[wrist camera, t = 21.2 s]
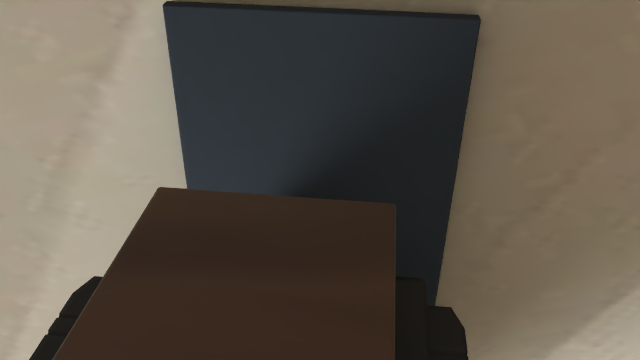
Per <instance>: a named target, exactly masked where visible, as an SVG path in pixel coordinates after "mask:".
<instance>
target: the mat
mask: <svg viewBox="0 0 640 360" xmlns="http://www.w3.org/2000/svg"><path fill="white" fill-rule="evenodd" d="M163 12H164V19H165V26H166V34H167V41H168V49H169V56H170V64H171V71H172V79H173V86H174V94H175V101H176V109H177V116H178V124H179V131H180V139H181V146H182V153H183V161H184V168H185V176H186V183H187V189H194V190H208V191H222V192H236V193H250V194H264V195H278V196H292V197H306V198H320V199H334V200H349V201H363V202H377V203H391V204H395V206H396V246H395V276H402V277H414V278H425V281H426V295H427V305H428V306H435V302H436V296H437V289H438V283H439V277H440V271H441V264H442V258H443V252H444V246H445V240H446V233H447V227H448V221H449V215H450V208H451V202H452V196H453V190H454V183H455V177H456V171H457V165H458V159H459V152H460V146H461V140H462V134H463V127H464V121H465V115H466V109H467V102H468V96H469V90H470V84H471V77H472V71H473V65H474V59H475V53H476V46H477V40H478V34H479V28H480V21H481V20H480V17H479V15H467V14H445V13H422V12H400V11H377V10H355V9H332V8H309V7H287V6H264V5H242V4H219V3H197V2H174V1H167V2H166V3H164V4H163Z"/></svg>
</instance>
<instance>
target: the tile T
mask: <svg viewBox="0 0 640 360" xmlns="http://www.w3.org/2000/svg"><path fill="white" fill-rule="evenodd" d="M395 246H396V206H395V204H391V203H377V202H363V201H349V200H334V199H320V198H306V197H292V196H278V195H264V194H250V193H236V192H222V191H208V190H194V189H180V188H166V187H159V188H158V189H157V191H156V192H155V194H154V196H153V197H152V199H151V200H150V202H149V204H148V205H147V207H146V209H145V210H144V212H143V213H142V215H141V217H140V218H139V220H138V222H137V223H136V225H135V226H134V228H133V230H132V231H131V233H130V234H129V236H128V238H127V239H126V241H125V243H124V244H123V246H122V247H121V249H120V251H119V252H118V254H117V256H116V257H115V259H114V260H113V262H112V264H111V265H110V267H109V269H108V270H107V272H106V273H105V275H104V277H103V278H102V280H101V282H100V283H99V285H98V286H97V288H96V290H95V291H94V293H93V294H92V296H91V298H90V299H89V301H88V303H87V304H86V306H85V307H84V309H83V311H82V312H81V314H80V316H79V317H78V319H77V320H76V322H75V324H74V325H73V327H72V329H71V330H70V332H69V333H68V335H67V337H66V338H65V340H64V342H63V343H62V345H61V346H60V348H59V350H58V351H57V353H56V354H55V356H54V358H53V359H52V360H395Z"/></svg>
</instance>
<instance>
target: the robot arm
mask: <svg viewBox="0 0 640 360" xmlns="http://www.w3.org/2000/svg"><path fill="white" fill-rule="evenodd" d="M102 278H103V277H97V276H94V277H93V278H91V279H90V280H89V281H88V282H86V283H85V284H84V285H83V286H81V287H80V288H79V289H78V290H76V291H75V292H74V293H73V294H72V295H71V297H70V298H69V300H68V301H67V303H66V304H65V306H64V307H63V309H62V310H61V312H60V313H59V318H56V320H55V321H54V323H53V324H52V326H51V327H50V329H49V330H48V335H45V336H44V338H43V339H42V341H41V342H40V344H39V345H38V347H37V348H36V350H35V352H34V353H33V355H32V356H31V358H30V359H29V360H52V359H53V358H54V356H55V354H56V353H57V351H58V350H59V348H60V346H61V345H62V343H63V342H64V340H65V338H66V337H67V335H68V333H69V332H70V330H71V329H72V327H73V325H74V324H75V322H76V320H77V319H78V317H79V316H80V314H81V312H82V311H83V309H84V307H85V306H86V304H87V303H88V301H89V299H90V298H91V296H92V294H93V293H94V291H95V290H96V288H97V286H98V285H99V283H100V282H101V280H102ZM395 360H468V357H467V344H466V336H465V329H464V327H463V325H462V324H461V322H460V321H459V319H458V318H457V316H456V314H455V313H454V311H453V310H452V308H451V307H439V306H428V305H427V295H426V281H425V278H414V277H402V276H395Z"/></svg>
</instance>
